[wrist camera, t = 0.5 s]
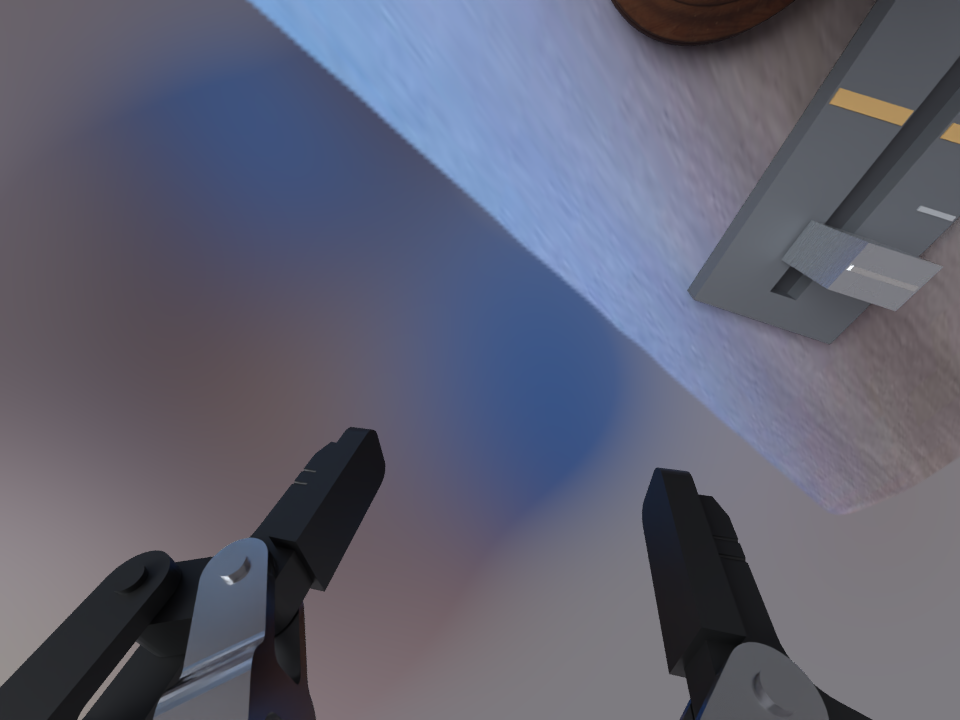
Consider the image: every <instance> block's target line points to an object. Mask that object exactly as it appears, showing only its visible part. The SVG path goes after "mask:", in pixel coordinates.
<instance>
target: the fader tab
mask: <svg viewBox="0 0 960 720" xmlns="http://www.w3.org/2000/svg"><path fill="white" fill-rule="evenodd" d="M781 260H783V261H784V262H786V263H787V264H789V265H790V266H792V267H794V268H795V269H797V270H798V271H800V272H801V273H803V274H804V275H806V276H808V277H809V278H811V279H812V280H814V281H815V282H817V283H819V284H820V285H822V286H823V287H825V288H826V289H829V290H832V291H835V292H838V293H841V294H844V295H847V296H850V297H853V298H856V299H859V300H862V301H866V302H869V303H872V304H875V305H878V306H881V307H884V308H887V309H890V310H893V311H897V310H898V309H899V308H900V307H901V306H902V305H903V304H904V303H905V302H906V301H907V300H908V299H909V298H910V297H912V296H913V295H914V294H915V293H916V292H917V291H918V290H919V289H920V288H921V287H922V286H923V285H924V284H925V283H927V282H928V281H929V280H930V279H931V278H932V277H933V276H934V275H935V274H936V273H937V272H938V271H939V270H941V269H942V268H943V266H940V265H938V264H935V263H932V262H930V261H927V260H925V259H922V258H919V257H917V256H914V255H911V254H909V253H906V252H904V251H901V250H898V249H896V248H893V247H890V246H888V245H885V244H883V243H880V242H877V241H875V240H872V239H869V238H866V237H863V236H860V235H856V234H853V233H850V232H847V231H844V230H841V229H838V228H835V227H831V226H828V225H825V224H822V223H819V222H816V221H813V220H812V221H811V222H810V223H809V224H808V226H807V227H806V228H805V230H804V231H803V232H802V233H801V235H800V236H799V237H798V239H797V240H796V241H795V242H794V244H793V245H792V246H791V248H790V249H789V250H788V251H787V253H786V254H785V255H784V257H783V258H782V259H781Z"/></svg>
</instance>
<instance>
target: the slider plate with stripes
mask: <svg viewBox="0 0 960 720" xmlns="http://www.w3.org/2000/svg"><path fill="white" fill-rule="evenodd" d="M959 216H960V0H877V1H876V3H875V4H874V6H873V8H872V9H871V11H870V12H869V14H868V15H867V17H866V18H865V20H864V21H863V23H862V24H861V26H860V27H859V29H858V30H857V32H856V34H855V35H854V37H853V38H852V40H851V41H850V43H849V44H848V46H847V47H846V49H845V50H844V52H843V53H842V55H841V56H840V58H839V59H838V61H837V63H836V64H835V66H834V67H833V69H832V70H831V72H830V73H829V75H828V76H827V78H826V79H825V81H824V82H823V84H822V85H821V87H820V89H819V90H818V92H817V93H816V95H815V96H814V98H813V99H812V101H811V102H810V104H809V105H808V107H807V108H806V110H805V111H804V113H803V115H802V116H801V118H800V119H799V121H798V122H797V124H796V125H795V127H794V128H793V130H792V131H791V133H790V134H789V136H788V137H787V139H786V140H785V142H784V144H783V145H782V147H781V148H780V150H779V151H778V153H777V154H776V156H775V157H774V159H773V160H772V162H771V163H770V165H769V166H768V168H767V170H766V171H765V173H764V174H763V176H762V177H761V179H760V180H759V182H758V183H757V185H756V186H755V188H754V189H753V191H752V192H751V194H750V196H749V197H748V199H747V200H746V202H745V203H744V205H743V206H742V208H741V209H740V211H739V212H738V214H737V215H736V217H735V218H734V220H733V221H732V223H731V225H730V226H729V228H728V229H727V231H726V232H725V234H724V235H723V237H722V238H721V240H720V241H719V243H718V244H717V246H716V247H715V249H714V251H713V252H712V254H711V255H710V257H709V258H708V260H707V261H706V263H705V264H704V266H703V267H702V269H701V270H700V272H699V273H698V275H697V277H696V278H695V280H694V281H693V283H692V284H691V286H690V287H689V289H688V290H687V291H688V292H689V294H690V295H691V297H692V298H693V299H694V300H697V301H700V302H703V303H706V304H709V305H712V306H715V307H718V308H721V309H724V310H727V311H730V312H733V313H736V314H739V315H742V316H745V317H748V318H751V319H754V320H757V321H760V322H763V323H766V324H770V325H773V326H776V327H779V328H782V329H785V330H788V331H791V332H794V333H797V334H800V335H803V336H806V337H809V338H812V339H815V340H818V341H821V342H824V343H827V344H831V343H832V342H833V341H834V340H835V339H836V338H837V337H838V336H839V335H840V334H841V333H842V332H843V331H844V330H845V329H846V328H847V327H848V326H849V325H850V324H851V323H852V322H853V321H854V320H855V319H856V318H857V317H858V316H859V315H860V314H861V313H862V312H863V311H864V310H865V309H866V308H867V307H868V306H869V305H870V304H871V303H869V302H866V301H862V300H859V299H856V298H853V297H850V296H847V295H844V294H841V293H838V292H835V291H832V290H829V289H826V288H825V287H823V286H822V285H820V284H819V283H817V282H815V281H814V280H812V279H811V278H809V277H808V276H806V275H804V274H803V273H801V272H800V271H798V270H797V269H795V268H794V267H792V266H790V265H789V264H787V263H786V262H784V261H783V260H781V259H782V258H783V257H784V255H785V254H786V253H787V251H788V250H789V249H790V248H791V246H792V245H793V244H794V242H795V241H796V240H797V239H798V237H799V236H800V235H801V233H802V232H803V231H804V230H805V228H806V227H807V226H808V224H809V223H810V222H811V221H812V220H813V221H816V222H819V223H822V224H825V225H828V226H831V227H835V228H838V229H841V230H844V231H847V232H850V233H853V234H856V235H860V236H863V237H866V238H869V239H872V240H875V241H877V242H880V243H883V244H885V245H888V246H890V247H893V248H896V249H898V250H901V251H904V252H906V253H909V254H911V255H914V256H917V257H919V256H920V255H921V254H922V253H923V252H924V251H925V250H926V249H927V248H928V247H929V246H930V245H931V244H932V243H933V242H934V241H935V240H936V239H937V238H938V237H939V236H940V235H941V234H942V233H943V232H944V231H945V230H946V229H947V228H948V227H949V226H950V225H951V224H952V223H953V222H954V221H955V220H956V219H957V218H958V217H959Z"/></svg>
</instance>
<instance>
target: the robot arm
mask: <svg viewBox="0 0 960 720" xmlns="http://www.w3.org/2000/svg"><path fill="white" fill-rule="evenodd" d="M384 474H385V461H384V457H383V454H382V450H381V446H380V443H379V439H378V435H377V433H376V431H374V430H371V429H363V428H355V427H350V428H348V429H347V430H346V431H345V432H344V433H343V435H342V436H341V438H340V439H339V440H338V442H337V443H334V442H330V443H329V444H328V445H326V446H325V447H324V448H323V449H321V450H320V451H318V452H317V453H316V454H315V455H314V456H313V457H312V459H311V460H310V461H309V463H308V464H307V465H306V467H305V468H304V471H303V472H301V473H300V474H299V476H298V477H297V478H296V479H295V482H294V484H292V485H291V486H290V487H289V488H288V490H287V491H286V492H285V494H284V495H283V496H282V498H281V499H280V500H279V501H278V503H277V504H276V505H275V507H274V508H273V509H272V510H271V512H270V513H269V514H268V516H267V517H266V518H265V520H264V521H263V522H262V523H261V525H260V526H259V527H258V529H257V530H256V531H255V532H254V533H253V534H252V536H251V537H249V538H245V539H241V540H238V541H235V542H233V543H231V544H229V545H228V546H226V547H225V548H223V549H222V550H220V551H219V552H218V553H217V554H216V555H215V556H213V557H208V558H201V559H194V560H188V561H181V562H174V561H173V559H172V558H171V557H170V556H169V555H168V554H166V553H165V552H163V551H149V552H145V553H142V554H140V555H137V556H135V557H133V558H131V559H129V560H128V561H126V562H124V563H123V564H122V565H120V566H119V567H118V568H116V569H115V570H114V571H113V572H112V573H111V574H109V575H108V576H107V577H106V578H105V580H103V582H102V583H101V584H100V585H99V586H98V587H97V588H96V589H95V590H94V591H93V592H92V593H91V594H90V595H89V596H88V597H87V598H86V599H85V600H84V601H83V602H82V603H81V604H80V605H79V607H77V609H76V610H75V611H74V612H73V613H72V614H71V615H70V616H69V617H68V618H67V619H66V620H65V621H64V622H63V623H62V624H61V625H60V626H59V627H58V628H57V629H56V630H55V631H54V632H53V633H52V634H51V635H50V636H49V637H48V639H47V640H46V641H45V642H44V643H43V644H42V645H41V646H40V647H39V648H38V649H37V650H36V651H35V652H34V653H33V654H32V655H31V656H30V657H29V658H28V659H27V661H25V662H24V663H23V664H22V666H20V668H19V669H18V670H17V671H16V672H15V673H14V674H13V675H12V676H11V677H10V678H9V679H8V680H7V681H6V682H5V683H4V684H3V685H2V686H1V687H0V720H77V719H78V716H79V715H80V712H81V711H82V709H83V708H84V706H85V705H86V704H87V702H88V701H89V700H90V699H91V697H92V696H93V695H94V693H95V692H96V691H97V690H98V688H99V687H100V686H101V685H102V683H103V682H104V681H105V680H106V678H107V677H108V676H109V674H110V673H111V672H112V671H113V669H114V668H115V667H116V666H117V664H118V663H119V661H121V659H122V658H123V657H124V655H125V654H126V653H127V652H128V650H129V649H130V648H131V646H132V645H133V644H134V643H135V642H137V643H139V644H140V646H139V647H138V649H137V650H136V651H135V652H134V654H133V655H132V656H131V658H130V659H129V660H128V662H127V663H126V664H125V665H124V667H123V668H122V669H121V671H120V672H119V673H118V674H117V676H116V677H115V678H114V680H113V681H112V682H111V684H110V685H109V686H108V687H107V689H106V690H105V691H104V692H103V694H102V695H101V696H100V698H99V699H98V700H97V702H96V703H95V704H94V705H93V707H92V708H91V709H90V711H89V712H88V713H87V714H86V716H85V717H84V718H83V719H82V720H316V716H315V711H314V706H313V702H312V699H311V696H310V693H309V688H308V680H307V679H308V678H307V658H306V639H305V638H306V636H305V615H304V603H303V600H304V598H305V596H306V594H307V592H308V591H309V589H310V588H311V589H316V590H320V591H325V590H326V588H327V586H328V584H329V582H330V580H331V579H332V577H333V575H334V572H335V571H336V569H337V567H338V565H339V563H340V561H341V559H342V557H343V556H344V554H345V552H346V550H347V548H348V546H349V544H350V542H351V540H352V539H353V536H354V535H355V533H356V531H357V529H358V527H359V525H360V523H361V521H362V520H363V518H364V516H365V514H366V512H367V510H368V508H369V506H370V504H371V502H372V501H373V498H374V497H375V495H376V493H377V491H378V489H379V487H380V485H381V483H382V481H383V478H384ZM642 522H643V529H644V535H645V540H646V546H647V552H648V558H649V562H650V569H651V574H652V580H653V586H654V591H655V597H656V602H657V608H658V614H659V619H660V624H661V630H662V636H663V641H664V647H665V652H666V658H667V664H668V669H669V674H672V675H677V676H681V677H685V678H686V679H687V684H688V689H689V694H690V700H689V702H688V704H687V706H686V708H685V710H684V712H683V714H682V716H681V718H680V720H872V719H870V718H868V717H866V716H864V715H863V714H861V713H859V712H857V711H855V710H853V709H851V708H850V707H847V706H846V705H844V704H842V703H840V702H838V701H837V700H835V699H833V698H832V697H830V696H829V695H827V694H826V693H824V692H823V691H822V690H820V689H819V688H818V687H816V686H815V685H814V684H813V683H812V681H811V680H810V679H809V678H808V677H807V675H806V674H805V673H804V672H803V671H802V670H801V669H800V668H799V667H798V666H797V665H796V664H795V663H794V662H793V661H792V660H790V658H789V657H788V655H787V654H786V652H785V651H784V649H783V647H782V646H781V644H780V642H779V639H778V637H777V635H776V633H775V630H774V627H773V625H772V622H771V620H770V617H769V615H768V613H767V610H766V608H765V605H764V602H763V600H762V597H761V595H760V593H759V590H758V588H757V585H756V583H755V580H754V578H753V575H752V573H751V570H750V568H749V565H748V563H746V562H745V555H744V553H743V550H742V548H741V545H740V544H739V543H738V538H737V535H736V533H735V530H734V528H733V525H732V523H731V520H730V518H729V516H728V515H727V514H726V513H725V511H724V510H723V509H722V508H721V507H720V505H719V504H718V503H717V502H716V500H715V499H714V498H713V497H712V496H705V495H698V493H697V490H696V487H695V484H694V481H693V478H692V476H691V474H690V473H689V472H687V471H680V470H672V469H665V468H656V469H655V470H654V473H653V476H652V479H651V482H650V485H649V488H648V491H647V493H646V496H645V499H644V503H643V509H642Z"/></svg>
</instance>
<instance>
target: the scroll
mask: <svg viewBox="0 0 960 720" xmlns="http://www.w3.org/2000/svg"><path fill="white" fill-rule="evenodd" d="M611 1H612V3H613V4H614V6H615V7H616V9H617V10H618V11H619V13H620V14H621V15H622V16H623V17H624V18H625V19H626V20H627V21H628V22H629V23H630V24H631V25H632V26H633V27H634V28H636V29H637V30H638V31H640V32H641V33H643V34H645V35H646V36H648V37H650V38H653V39H655V40H658V41H660V42H664V43H668V44H673V45H681V46H694V45H703V44H709V43H713V42H718V41H721V40H724V39H727V38H730V37H733V36H736V35H738V34H740V33H742V32H745V31H747V30H749V29H751V28H752V27H754V26H756V25H758V24H760V23H762V22H763V21H765V20H767V19H769V18H770V17H772V16H773V15H775V14H777V13H778V12H780V11H781V10H783V9H784V8H785V7H787V6H788V5H789V4H791V3H792V2H793V1H795V0H611Z"/></svg>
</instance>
